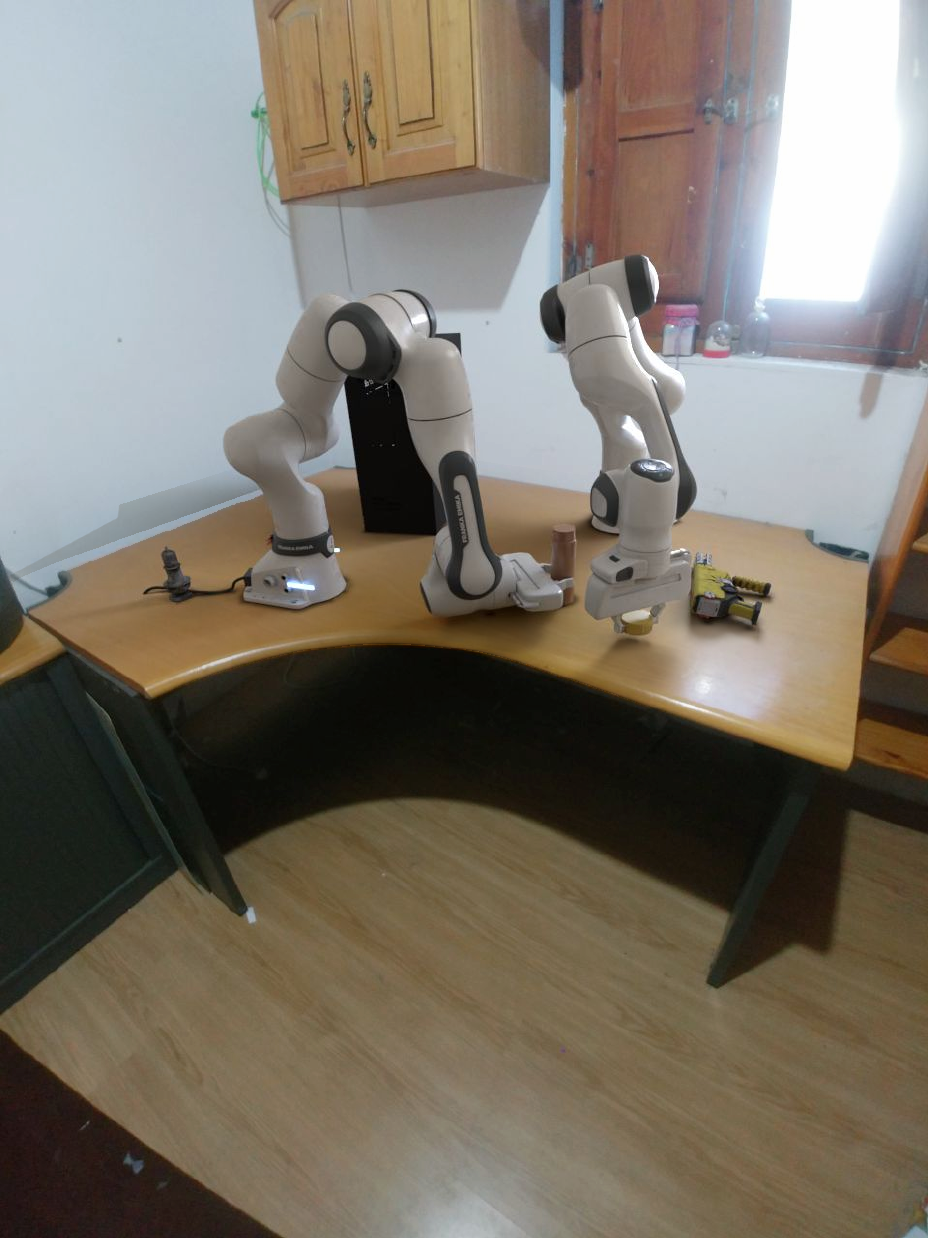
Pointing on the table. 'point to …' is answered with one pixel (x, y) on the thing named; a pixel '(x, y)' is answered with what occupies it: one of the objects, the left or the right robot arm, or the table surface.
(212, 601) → the table surface
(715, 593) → the toy gun
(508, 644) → the table surface
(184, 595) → the grey chess piece
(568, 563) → the jar
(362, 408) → the black computer case
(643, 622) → the lid
